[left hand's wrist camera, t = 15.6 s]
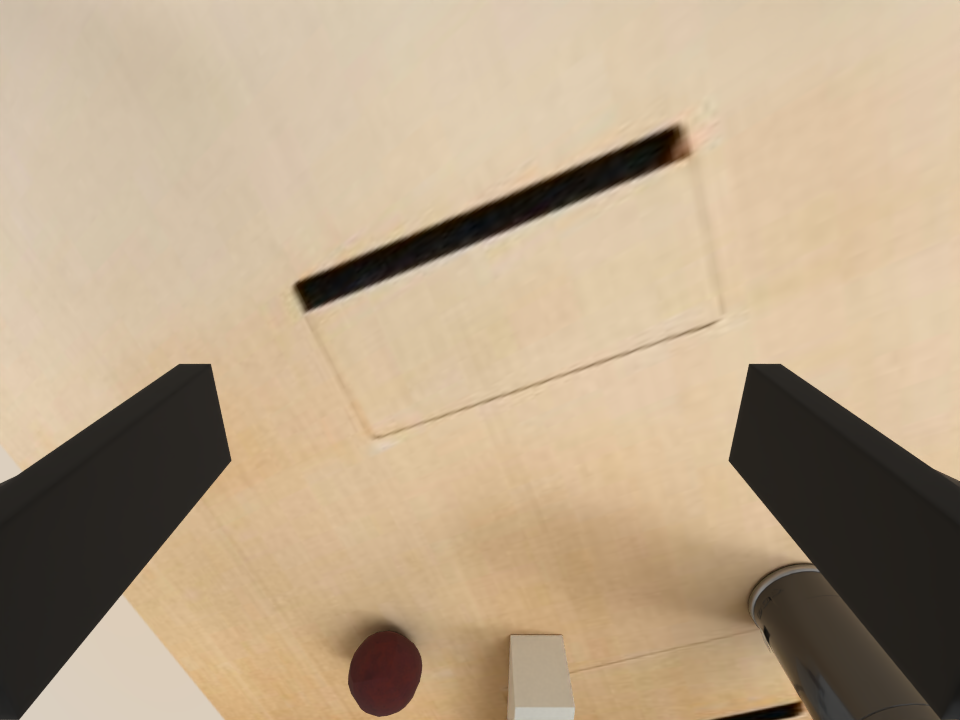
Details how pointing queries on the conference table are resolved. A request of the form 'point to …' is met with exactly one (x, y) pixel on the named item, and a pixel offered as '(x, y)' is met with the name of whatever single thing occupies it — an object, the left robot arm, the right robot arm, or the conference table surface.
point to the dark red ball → (384, 673)
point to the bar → (539, 679)
